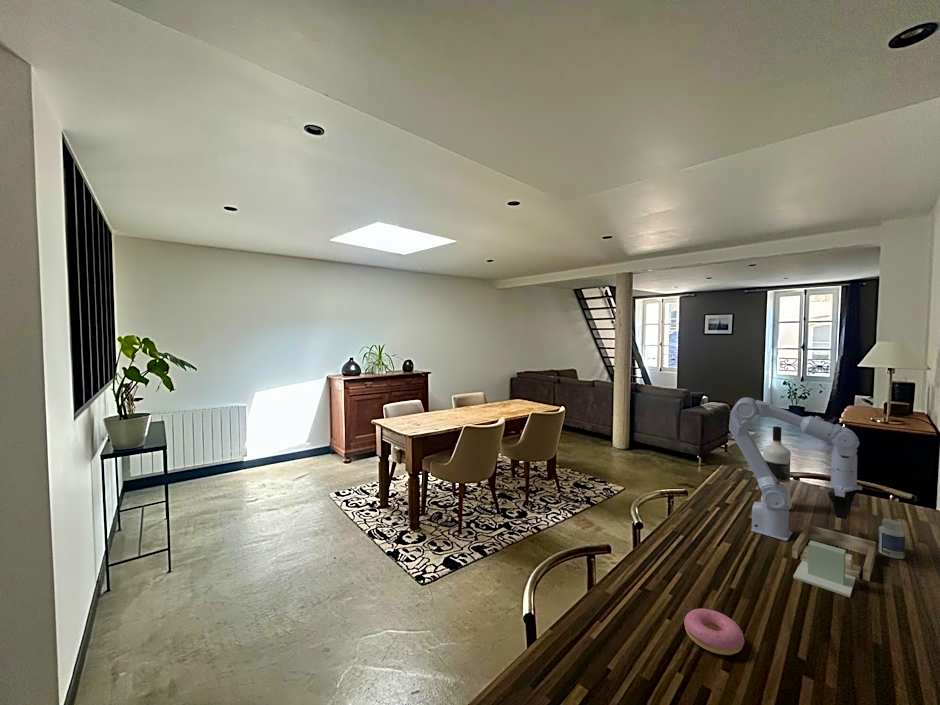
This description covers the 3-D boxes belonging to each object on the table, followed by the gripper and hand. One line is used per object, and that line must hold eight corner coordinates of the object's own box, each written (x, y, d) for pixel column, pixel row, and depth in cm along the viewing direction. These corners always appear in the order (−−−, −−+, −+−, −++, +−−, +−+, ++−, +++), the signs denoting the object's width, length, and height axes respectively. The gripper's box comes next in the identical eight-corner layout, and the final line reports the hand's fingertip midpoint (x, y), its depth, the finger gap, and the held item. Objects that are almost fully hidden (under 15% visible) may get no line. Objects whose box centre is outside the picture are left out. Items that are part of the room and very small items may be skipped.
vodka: (763, 499, 161) (764, 423, 160) (793, 505, 154) (795, 426, 153) (758, 505, 154) (759, 426, 153) (789, 513, 148) (790, 430, 147)
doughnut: (676, 639, 86) (676, 620, 86) (693, 615, 94) (693, 597, 94) (736, 669, 78) (736, 647, 78) (750, 639, 86) (750, 620, 86)
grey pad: (793, 578, 108) (793, 575, 108) (801, 562, 115) (801, 560, 115) (850, 597, 99) (850, 595, 99) (855, 579, 107) (855, 577, 107)
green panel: (807, 573, 109) (808, 544, 108) (809, 569, 111) (810, 540, 110) (843, 585, 103) (843, 554, 103) (844, 580, 105) (845, 550, 105)
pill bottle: (910, 560, 116) (911, 526, 116) (887, 558, 117) (888, 524, 117) (894, 550, 121) (895, 518, 121) (873, 549, 122) (874, 516, 122)
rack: (791, 557, 118) (792, 543, 118) (804, 536, 130) (805, 523, 130) (869, 581, 106) (869, 566, 106) (875, 555, 118) (875, 542, 118)
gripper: (859, 478, 114) (858, 526, 114) (864, 466, 124) (864, 511, 124) (826, 472, 119) (825, 518, 120) (833, 461, 129) (833, 504, 129)
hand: (842, 514), depth 122 cm, fingers open, 7 cm apart
